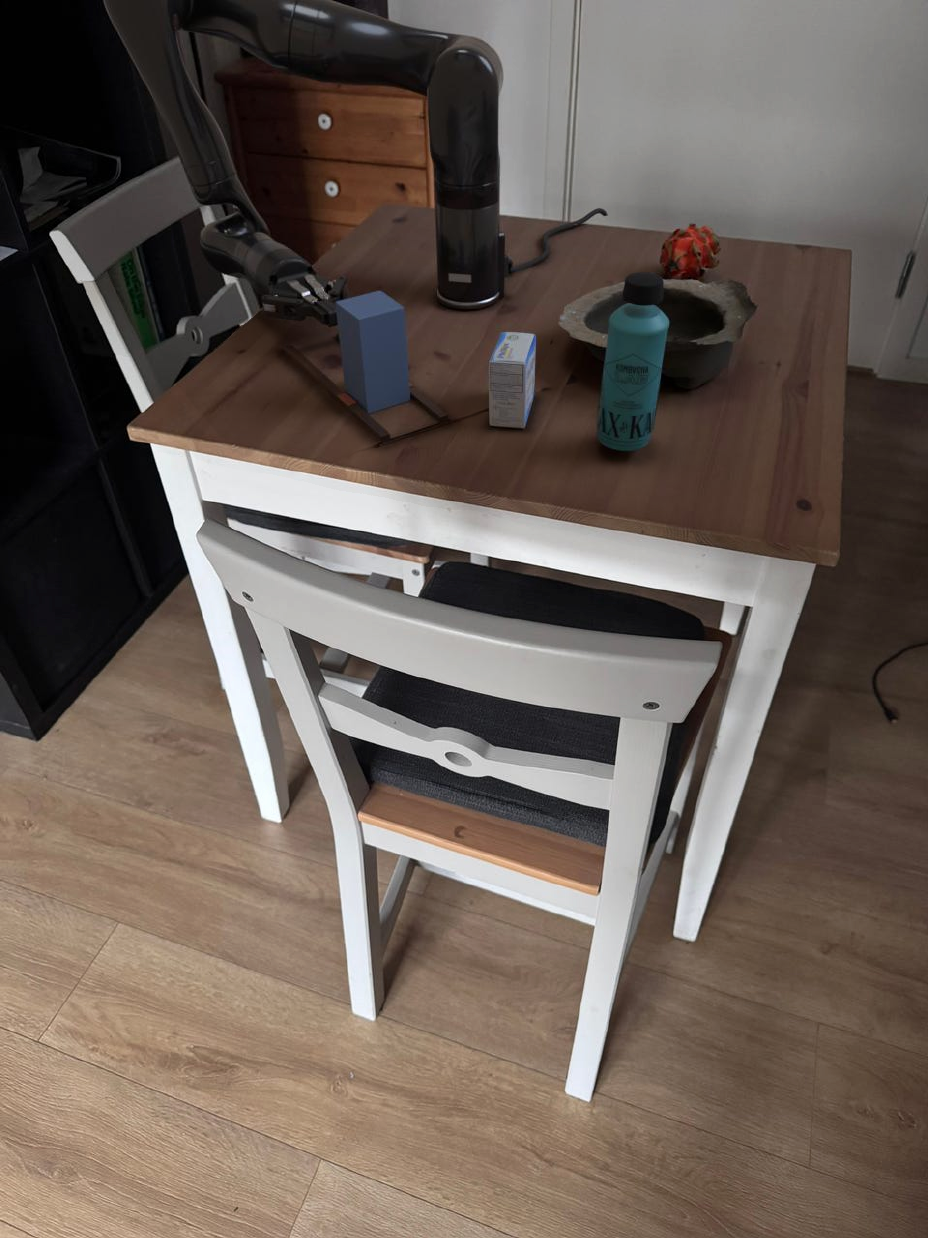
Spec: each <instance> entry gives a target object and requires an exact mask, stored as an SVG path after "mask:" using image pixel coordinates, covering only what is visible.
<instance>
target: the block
mask: <svg viewBox="0 0 928 1238" xmlns="http://www.w3.org/2000/svg"><path fill="white" fill-rule="evenodd" d="M335 303H336V312H337V321H338V325H337V328H338V332H339V338H340V340H339V347H340V355H341V363H342V371H343V381H344V390H345V391H344V392H345V393H346V394H348V395H349V396H350V397H351V398H352V399H353V400H354V401H355V402H356V403H357V404H358V405H359V406H360V407H361V408H362V409H363V410H364V411H365V412H367V413H368V414H369V415H370V414H373V413H376V412H379V411H383V410H385V409H389V408H391V407H395V406H399V405H402V404H405V403H408V402H410V401H411V398H410V389H409V382H410V375H409V374H410V373H409V360H408V341H407V327H406V326H407V325H406V324H407V323H406V310H405V307H404V306H403V305H402V304H400V303H399V302H398V301H396V300H394V298H392V297H391V296H389V295H388V294H386V293H385V292H384V291H382V290H376V291H373V292H369V293H368V292H367V293H364V294H360V295H356V296H353V297H349V298H346V299H345V300H341V301H337V302H335Z"/></svg>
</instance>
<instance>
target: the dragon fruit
mask: <svg viewBox="0 0 928 1238" xmlns="http://www.w3.org/2000/svg"><path fill="white" fill-rule="evenodd" d="M721 250H722V248H721V246H720V240H719V236H718V235H717V234H716V233H715V232H714V231H713V228H712V227H711V226H710V225H709V226H708V225H703V226H701V227H700V228H698V226H697V224H696V223H693V222H690V223H689V225H688V227H687V229H682V228H680V227H679V228H676V229H675V230H673V232H672V233H671V235H670V236H669V237H668V238H667V239H666V240H665V241H664V242H663V244H662V246H661V254H660V257H659V265H660V264H661V267H662V269H663V270H664V273H665V274H668V277H667V280H669V279H675V280H688V278H689V277H690V278H691V280H697V281H701V280H703V279H704V278H705V277H706V274H707V273H709V272H710V271H709V269H712V270H713V269H715V268H718V267H719V266H720V263H721V261H720V260H719V259H717V258H716V255H719V253H720V252H721Z"/></svg>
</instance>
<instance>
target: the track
mask: <svg viewBox="0 0 928 1238" xmlns="http://www.w3.org/2000/svg"><path fill="white" fill-rule="evenodd" d="M336 338H337V339H338V340H339V341H340V338H339V331H336ZM283 352H284V354H286V355H287V356H288V357H289V358H290V359H291V360H292V361H294V363H295V364H297V365H298V366H299V367H300V368H301V369H302V370H303V371H304V372H305V373H306V374H307V375H308V376H310V377H311V378H312V379H313V380H314V381H315V383H317V384H318V385H319V386H321V387H322V389H323V390H325V391H326V393H328V394H329V396H330V395H331V397H332V398H333V399H334V400H335V401H337V402H338V403H339V404H340V405H341V406H342V407H343V408H344V409H345V410H346V411H347V412H348V413H350V414H351V415H352V416H353V417H354V418H355V419H356V420H357V421H358V422H359V423H360V424H361V425H362V426H364V427H365V429H366V430H368V431H369V432H370V433H371V434H372V435H373V436H374V437H375V438H376V439H378V441H380V442H378V443H376V444H375V445H376V446H377V447H378V448H380V447H384V446H386V445H389V444H393V443H395V442H399V441H402V440H404V439H407V438H410V437H413V436H417V435H419V434H422V433H425V432H428V431H431V430H434V429H437V428H440V427H443V426H446V425H449V424H451V423H452V420H451V419H449V413H447V412H446V411H445V410H443V409H442V408H441V407H440V406H439V405H437V404H436V403H435V402H434V401H432V400H431V399H430V398H429V397H428V396H427V395H425V394H424V393H423V392H421V391H420V390H419V389H418V388H416V387H415V386H414V385H413V383H411V382H410V381H409V389H410V400H412V401H413V402H414V403H415V404H417V405H418V407H421V408H422V409H423V410H424V411H425V412H427V414H428V415H430V416H432V417H433V419H435V420H436V421H438V423H434V424H431V425H428V426H426V427H423V428H420V429H417V430H414V431H410V432H408V433H405V434H402V435H399V436H395V437H393V438H391V433H390V432H389V431H388V430H387V429H386V428H384V426H382V425H381V424H380V423H379V422H378V421H377V420H376V419H375V418H374V417H372V416H371V415H370V414H368V413H367V412H365V411H364V410H363V409H362V408H361V407H360V406H359V405H358V404H357V403H356V402H355V401H354V400H353V399H352V398H351V397H350V396H349V395H348V394H346V392H345V391H344V390H343V389H341V388H340V387H339V386H338V385H337V384H336V383H334V382H333V381H332V380H331V379H330V378H329V377H328V376H327V375H326V374H325V373H323V372H322V371H321V370H320V369H319V368H318V367H317V366H316V365H315V364H313V362H311V361H310V360H309V359H308V358H307V357H305V355H303V353H301V352H300V351H299V350H298V349H297V348H296V347H294V346H293V345H292V344H288V345H285V346H283Z"/></svg>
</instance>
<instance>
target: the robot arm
mask: <svg viewBox="0 0 928 1238" xmlns="http://www.w3.org/2000/svg"><path fill="white" fill-rule="evenodd" d="M102 2H103V4H104V8H105V9H106V12H107V14H108V16H109V19H110V21H111V23H112V25H113V26H114V28H115V30H116V32H117V34H118V36H119V39H120V40H121V41H122V43H123V46H124V47H125V48H126V49H125V50H126V51H127V52H128V54H129V56H130V58H131V59H132V61H133V64H134V66H135V67H136V69H137V71H138V73H139V75H140V76H141V79H142V80H143V82H144V84H145V86H146V87H147V90H148V92H149V93H150V96H151V97H152V100H153V101H154V104H155V105H156V107H157V110H158V111H159V113H160V116H161V118H162V120H163V122H164V124H165V126H166V129H167V131H168V134H169V136H170V138H171V141H172V143H173V145H174V148H175V150H176V153H177V155H178V158H179V161H180V165H181V166H182V169H183V171H184V174H185V176H186V177H185V178H186V180H187V183H188V184H189V187H190V189H191V192H192V194H193V197H194V199H195V200H196V201H197V203H198V204H200V205H202V206H204V207H205V206H208V207H211V206H213V207H214V206H219V205H221V206H222V205H230V206H231V207H232V208H233V210H234V212H233V213H231V214H229V215H226V216H223V217H221V218H219V219H217V220H214V221H211V222H209V223H208V224H206V225H205V226H204V227H203V228H202V229H201V231H200V234H199V240H198V241H199V248H200V251H201V253H202V255H203V257H204V260H206V261H207V263H208V264H209V265H210V266H211V267H212V268H213V269H214V270H216V271H217V272H219V273H221V274H223V275H225V276H229V277H232V278H237V279H240V280H241V279H242V280H246V281H247V282H248V283H249V284H250V285H251V286H252V288H253V289H254V290H255V291H256V292H257V293H258V294H260V296H261V303H262V310H263V315H264V316H265V317H269V318H276V319H282V320H289V321H297V322H303V321H305V320H306V318H307V317H308V318H309V319H310V320H317V322H319V323H320V325H321V324H322V325H324V326H327V327H328V328H332V327H336V326H337V327H338V321H337V312H336V303H335V302H337V301H341V300H345V299H348V296H349V290H348V280H347V276H345V275H340V276H337V278H336V279H333V280H332V281H329V280H328V278H327V277H325V276H323V275H319V274H318V273H317V272H316V270H315V268H314V267H313V265H312V264H311V263H310V262H308V261H307V260H306V259H305V258H303V257H302V256H301V255H299V254H297V253H296V252H295V251H293V250H292V249H291V248H289V247H288V246H286V245H284V244H282V243H280V242H278V241H276V240H275V239H274V238H273V237H272V235H271V230H270V228H269V227H268V225H267V223H266V221H265V220H264V218H263V217H262V215H261V214H260V213H259V211H258V210H257V208H256V207H255V205H254V204H253V202H252V200H251V199H250V197H249V195H248V194H247V192H246V190H245V188H244V186H243V184H242V182H241V180H240V178H239V176H238V172H237V170H236V166H235V163H234V161H233V158H232V155H231V151H230V149H229V147H228V143H227V140H226V139H225V135H224V133H223V132H222V129H221V128H220V126H219V123H218V122H217V120H216V118H215V116H214V115H213V114H212V112H211V110H210V109H209V108H208V106H207V104H206V103H205V101H204V100H203V98H202V97H201V96H200V94H199V92H198V91H197V89H196V86H195V85H194V83H193V82H192V79H191V78H190V75H189V73H188V70H187V68H186V66H185V63H184V60H183V56H182V54H181V50H180V46H179V43H178V38H177V34H176V32H178V31H179V32H189V33H193V34H194V33H195V34H201V35H204V36H205V35H206V36H209V37H214V38H218V39H222V40H225V41H228V42H230V43H232V44H234V45H236V46H239V48H242V49H243V50H244V51H246V52H247V53H250V54H251V55H253V56H254V57H255V58H257V59H259V60H261V61H262V62H264V63H265V64H267V65H269V66H270V67H273V68H274V69H276V70H279V71H281V72H283V73H287V74H290V75H293V76H297V77H301V78H303V79H309V80H311V81H315V82H318V83H323V84H328V85H329V84H330V85H336V86H348V87H349V86H351V87H353V86H354V87H386V88H387V87H388V88H395V89H400V90H404V91H408V92H412V93H415V94H417V95H419V96H423V97H425V98H426V99H427V101H426V102H427V119H428V120H427V121H428V139H429V153H430V158H431V162H432V168H433V169H432V171H433V194H434V195H433V196H434V222H435V252H436V278H437V283H436V284H437V285H436V286H437V288H436V289H437V290H436V296H437V297H436V298H437V301H438V302H439V303H440V304H441V305H443V306H445V307H446V308H447V307H448V308H450V309H455V310H465V311H467V310H468V311H469V310H479V309H484V308H489V307H491V306H493V305H494V304H496V303H497V302H499V300H500V299H503V298H504V297H505V279H506V278H509V274H513V273H515V272H519V271H521V270H525V269H528V268H532V267H534V266H536V265H537V264H539V263H541V262H543V261H544V260H545V259H546V258H547V257H549V254H550V252H551V249H550V245H549V242H548V238H549V237H551V236H553V235H554V234H556V233H559V232H563V231H566V230H569V229H572V228H575V227H578V226H581V225H583V224H584V223H586V222H587V221H589V220H590V219H591V218H593V217H594V216H595V215H597V214H599V215H602V216H603V217H607V216H609V214H608V212H607V211H606V210H605V209H604V208H601V207H597V208H594V209H592V210H591V211H590V212H588V213H587V214H585V215H584V216H582V217H581V218H580V219H578V220H574V221H572V222H568V223H565V224H561V225H558V226H556V227H553V228H550V229H549V230H548V231H546V232H545V233H544V234H543V235H542V237H541V244H542V247H543V249H544V251H543V252H542V253H541V254H540V255H539V256H537V257H536V258H533V259H532V260H530V261H528V262H526V263H524V264H521V265H518V266H513V265H514V261H513V260H512V258H510V257H509V256H508V255H506V234H505V232H504V231H503V230H501V229H500V219H501V218H500V217H501V216H500V209H501V208H500V207H501V206H500V205H501V204H500V203H501V199H500V197H501V156H500V149H499V146H500V145H499V107H500V106H499V105H500V104H499V100H500V95H501V91H502V89H503V86H504V66H503V63H502V61H501V58H500V56H499V55H498V53H497V51H496V50H495V49H494V48H493V47H492V46H491V45H490V44H489V43H488V42H486V41H485V40H484V39H482V38H479V37H477V36H473V35H467V34H458V33H451V32H444V31H443V32H442V31H436V30H432V29H431V30H430V29H425V28H419V27H414V26H409V25H405V24H401V23H399V22H396V21H392V20H390V19H387V18H385V17H383V16H380V15H377V14H374V13H371V12H368V11H365V10H363V9H359V8H356V7H353V6H350V5H347V4H343V3H341V2H338V1H334V0H103V1H102ZM574 224H577V225H574ZM329 293H330V295H329Z"/></svg>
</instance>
